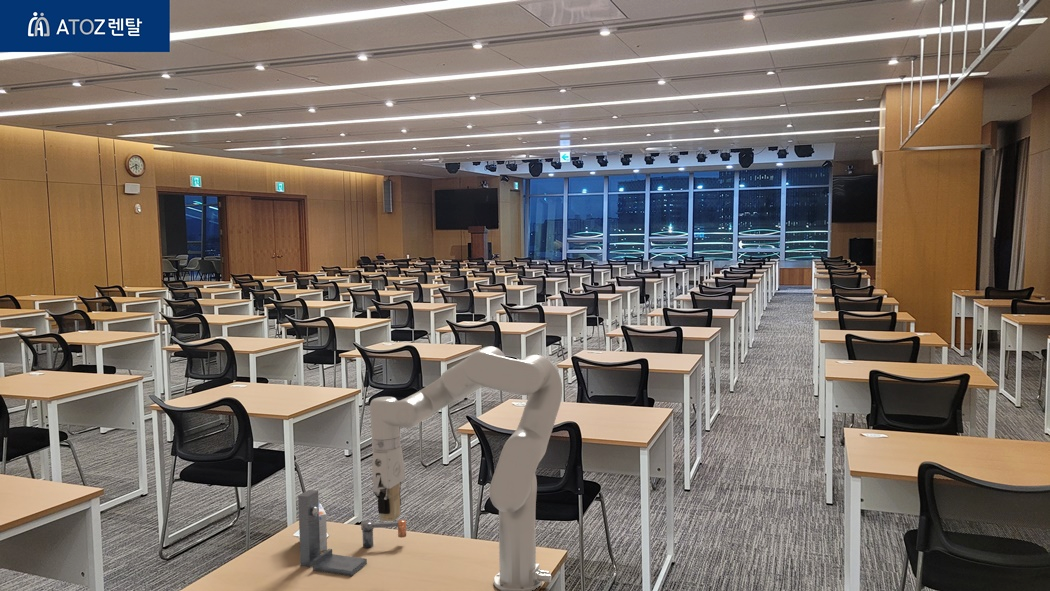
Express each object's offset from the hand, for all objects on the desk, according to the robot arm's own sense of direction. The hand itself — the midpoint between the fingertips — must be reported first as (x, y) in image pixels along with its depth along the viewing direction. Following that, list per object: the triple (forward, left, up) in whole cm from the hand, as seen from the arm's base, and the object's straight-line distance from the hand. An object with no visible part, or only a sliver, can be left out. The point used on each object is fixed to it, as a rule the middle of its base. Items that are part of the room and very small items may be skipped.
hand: (389, 508), depth 198 cm
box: (0, 0, -3) cm, 3 cm away
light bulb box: (+31, -9, -18) cm, 36 cm away
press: (+17, +2, -17) cm, 24 cm away
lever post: (+15, -13, -17) cm, 26 cm away
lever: (+10, -15, -15) cm, 23 cm away
